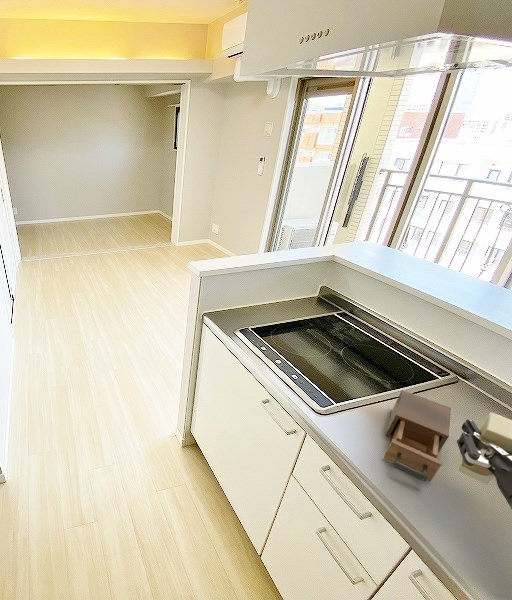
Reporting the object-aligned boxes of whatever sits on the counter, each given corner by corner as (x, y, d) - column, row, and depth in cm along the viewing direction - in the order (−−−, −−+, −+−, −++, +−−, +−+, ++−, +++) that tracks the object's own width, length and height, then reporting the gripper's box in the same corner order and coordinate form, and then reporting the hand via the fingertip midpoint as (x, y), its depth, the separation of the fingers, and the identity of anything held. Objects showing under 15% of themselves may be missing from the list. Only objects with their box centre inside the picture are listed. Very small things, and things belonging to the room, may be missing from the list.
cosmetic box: (461, 452, 69) (489, 410, 63) (491, 465, 66) (523, 423, 61) (456, 471, 65) (486, 428, 60) (488, 486, 63) (522, 443, 57)
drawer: (428, 495, 70) (440, 478, 67) (379, 470, 75) (389, 453, 72) (433, 450, 79) (444, 434, 76) (390, 431, 84) (398, 415, 81)
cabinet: (435, 458, 78) (449, 436, 74) (385, 435, 84) (395, 414, 80) (438, 428, 85) (451, 407, 82) (391, 410, 91) (402, 389, 88)
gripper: (635, 515, 46) (553, 425, 59) (496, 478, 51) (450, 403, 65) (600, 543, 49) (530, 453, 63) (473, 506, 55) (434, 430, 68)
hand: (490, 428), depth 64 cm, fingers closed on cosmetic box, 6 cm apart
